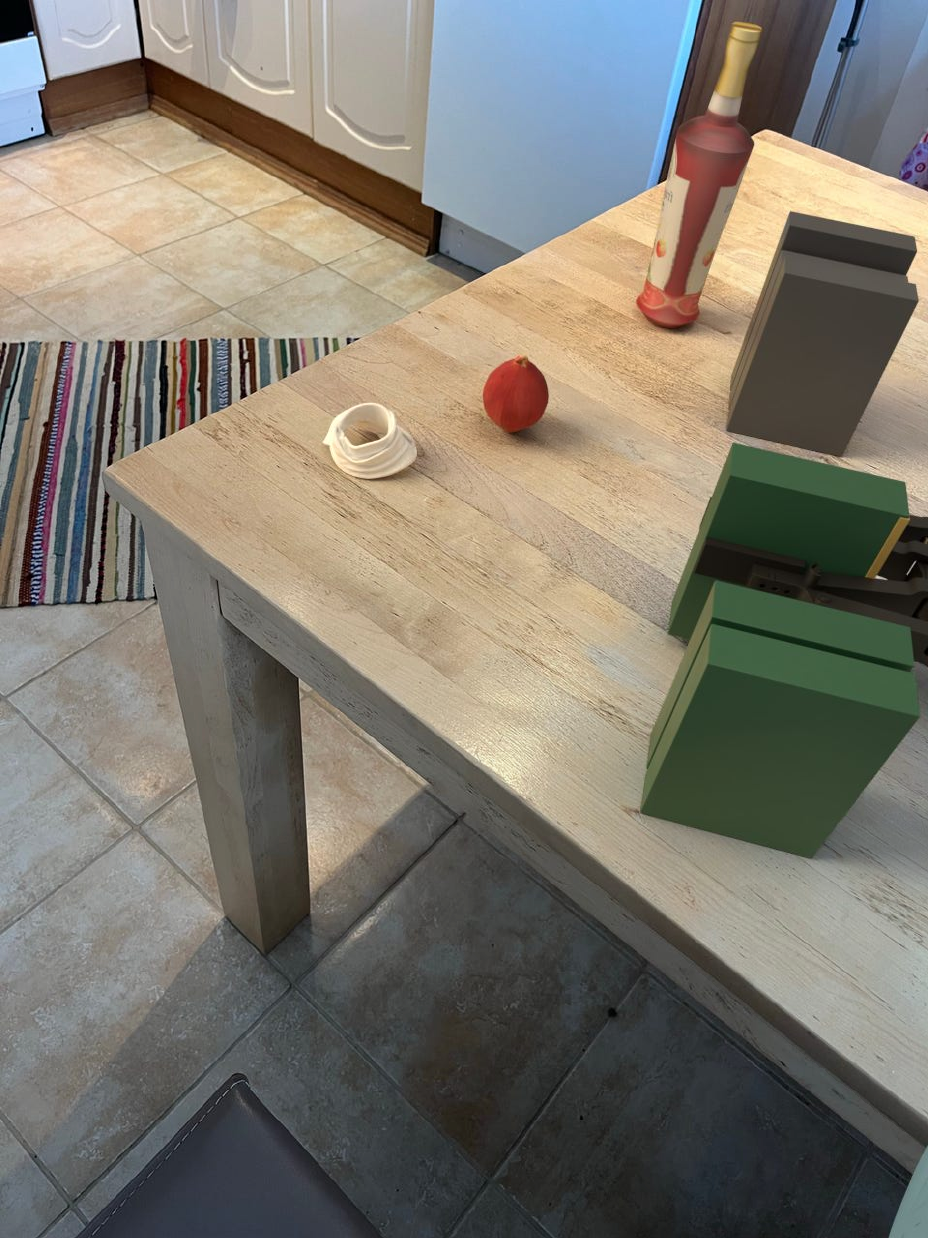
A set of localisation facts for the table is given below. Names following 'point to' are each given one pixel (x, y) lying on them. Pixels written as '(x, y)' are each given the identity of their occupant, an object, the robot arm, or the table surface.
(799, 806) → the green books
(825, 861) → the table surface
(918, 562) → the robot arm
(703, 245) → the liquor
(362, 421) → the white cowl scarf
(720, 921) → the table surface
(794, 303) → the grey books
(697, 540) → the green book
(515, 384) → the onion
